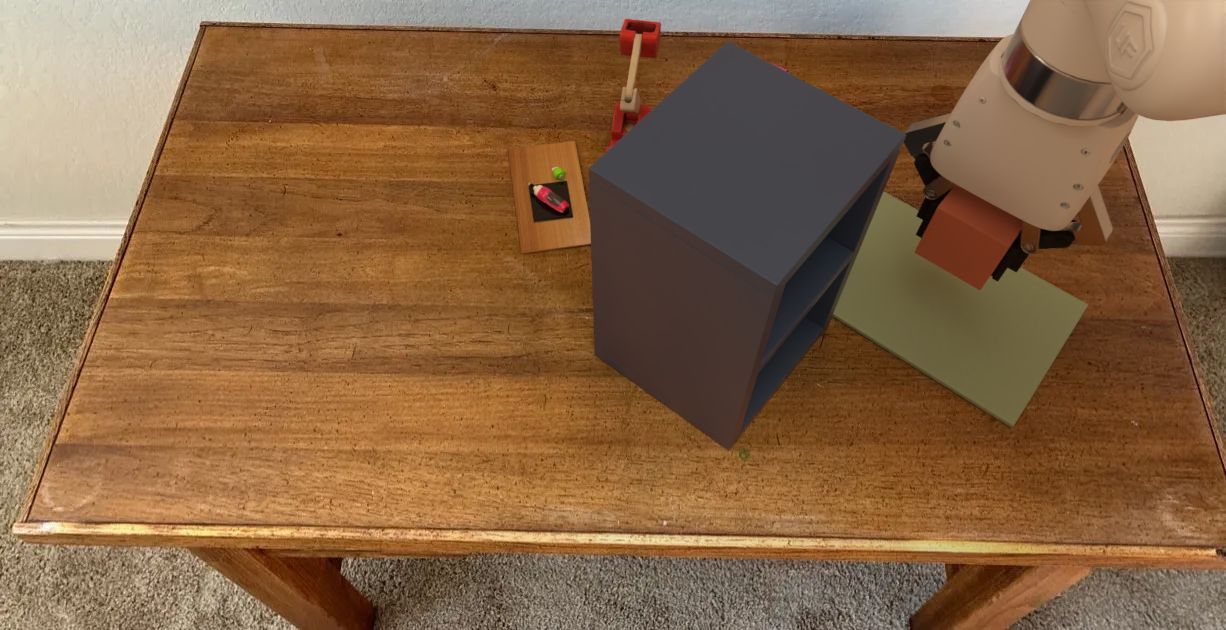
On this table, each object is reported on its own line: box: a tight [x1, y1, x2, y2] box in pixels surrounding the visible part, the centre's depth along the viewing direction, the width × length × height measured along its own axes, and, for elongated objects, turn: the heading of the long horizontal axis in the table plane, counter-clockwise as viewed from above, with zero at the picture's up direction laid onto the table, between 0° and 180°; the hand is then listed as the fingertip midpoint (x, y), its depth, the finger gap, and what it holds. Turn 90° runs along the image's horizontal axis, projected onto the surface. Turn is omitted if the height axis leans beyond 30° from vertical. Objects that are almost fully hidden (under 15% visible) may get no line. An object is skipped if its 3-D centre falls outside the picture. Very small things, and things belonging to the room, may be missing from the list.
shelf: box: [588, 40, 906, 452], centre depth 60 cm, size 13×14×22 cm
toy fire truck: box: [604, 18, 662, 154], centre depth 76 cm, size 3×14×10 cm, turn 171°
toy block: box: [914, 185, 1023, 290], centre depth 63 cm, size 6×6×6 cm
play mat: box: [832, 190, 1089, 429], centre depth 71 cm, size 20×14×1 cm
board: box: [507, 140, 591, 255], centre depth 76 cm, size 6×12×2 cm, turn 9°
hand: (965, 244), depth 65 cm, fingers closed on toy block, 5 cm apart
